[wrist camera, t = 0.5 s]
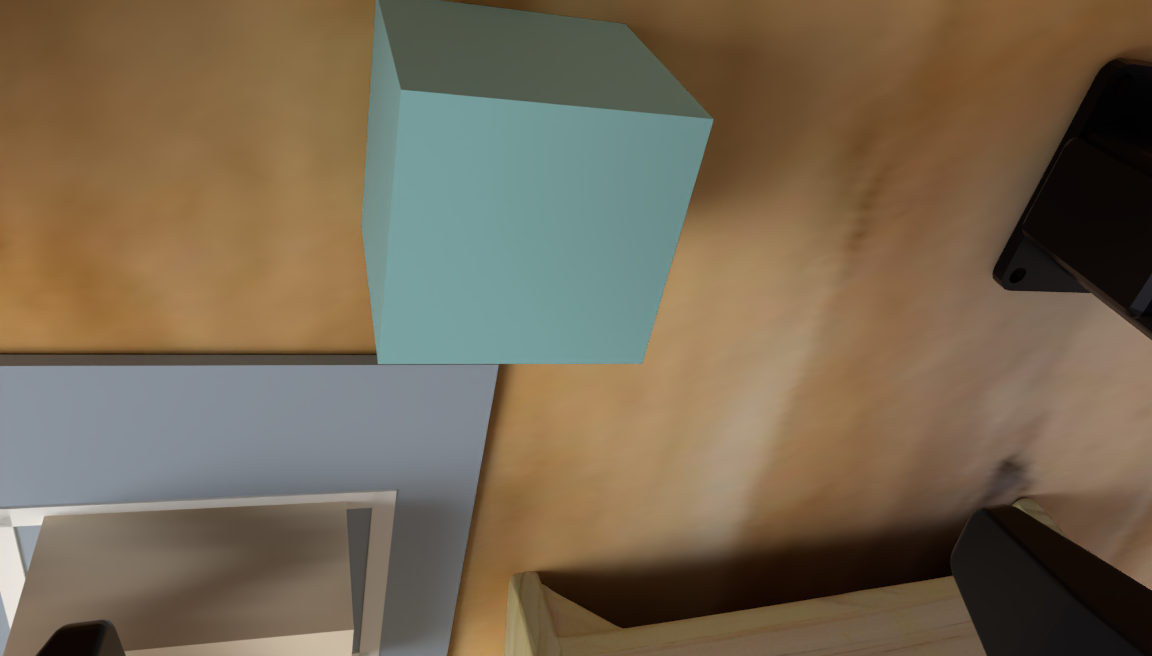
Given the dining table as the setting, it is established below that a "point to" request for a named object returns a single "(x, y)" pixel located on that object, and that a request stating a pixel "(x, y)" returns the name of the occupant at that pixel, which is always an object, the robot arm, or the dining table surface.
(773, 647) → the toy sofa
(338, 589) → the block
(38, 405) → the building mat
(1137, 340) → the dining table surface
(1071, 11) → the dining table surface
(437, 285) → the teal block
